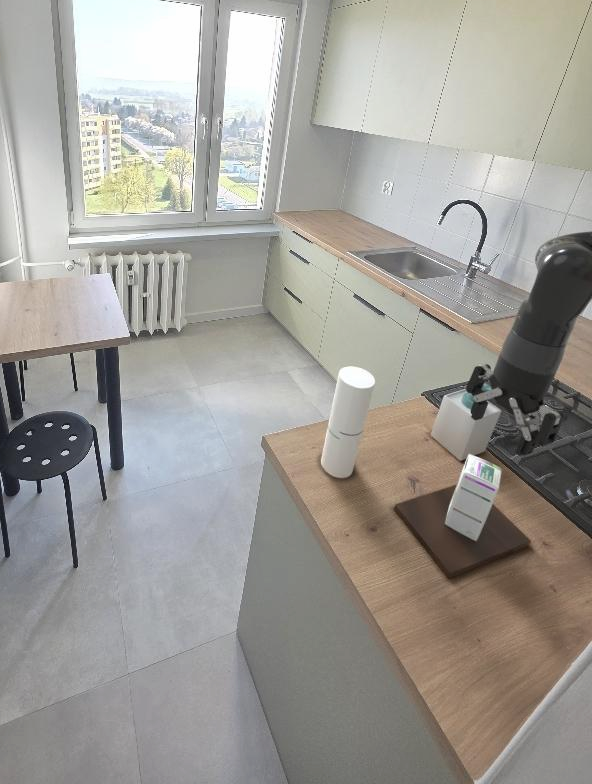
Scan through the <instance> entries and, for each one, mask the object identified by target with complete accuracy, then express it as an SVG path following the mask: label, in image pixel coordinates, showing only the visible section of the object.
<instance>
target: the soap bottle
mask: <svg viewBox="0 0 592 784" xmlns="http://www.w3.org/2000/svg"><path fill="white" fill-rule="evenodd" d="M490 390H492V389H491V385H488V384H487V383H486V382H485V383H484V385H483V387H482V391H483V392H487V391H490ZM487 402H488V406H487V408H486V411H485V414H484V416H483V418H482V419H479V420H474V419H472V418H471V415H472V414H471V408H472V405H473V403H474V399H473V395H472V394H471V393H468V392H467V391H466V388H464V389H460V390H457V391H454V392H450V393H448V394H445V395H443V398H442V399H441V403H440V406H439V410H438V412H437V416H436V417H435V418H436V419H435V421H434V424H433V427H432V430H431V433H430V436H431V437H432V438H433V439H434V440H435V441H436V442H438V443H439V445H441V446H442V447H443V448H444V449H445V450H447V451H448V452H449V453H450V454H451V455H453V457H455V458H456V459H457V460H458V461H459V462H461V461H464V460H467V457H468V455H469V454H471V455H473V456H476V455H478V454H481V453H484V452H486V450H487V447H488V445H489V442H490V440H491V438H492V435H493V433H494V430H495V428H496V425H497V423H498V420H499V418H500V416H501V413H502V410H501V409H500V408H499V407H497V406H496V405H495V404H493V403H492V402H490V401H489V400H487Z"/></svg>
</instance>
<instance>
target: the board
mask: <svg viewBox="0 0 592 784" xmlns="http://www.w3.org/2000/svg"><path fill="white" fill-rule="evenodd" d="M456 486H457V484H455V485H451V486H447V487H445V488H442V489H439V490H436V491H433V492H430V493H426V494H423V495H420V496H417V497H414V498H411V499H407V500H404V501H401V502H397V503H395V505H394V507H393V510H394V511H395V512H396V514H397V515H398V517H399V518H400V519H401V520H402V522H403V523H404V524H405V525H406V526H407V528H408V529H409V531H410V532H411V533H412V534H413V536H414V537H415V538H416V540H417V541H418V542H419V543H420V544H421V546H422V547H423V548H424V550H425V551H426V552H427V554H429V556H430V557H431V559H432V560H433V561H434V562H435V564H436V565H437V566H438V567H439V568H440V570H441V571H442V572H443V573H444V575H445V577H446V578H447V579H451V578H453V577H455V576H456V577H457V576H458V575H461V574H463V573H465V572H469V571H470V570H473V569H475V568H478V567H481V566H483V565H485V564H488V563H490V562H493V561H495V560H498V559H501V558H502V557H505V556H508V555H510V554H513V553H515V552H517V551H520V550H522V549H525V548H527V547H530V544H531V542H532V540H531V539H530V538H529V537H528V536H527V535H526V534H524V532H523V531H522V530H521V529H519V527H517V526H516V524H515V523H513V521H511V520H510V519H509V518H508V517H507V516H506V515H505V514H504V513H503V512H502V510H500V509H499V508H498V507H497V506H496V505H495V504H494V503H493V504H492V507H491V509H490V512H489V514H488V517H487V519H486V521H485V524H484V526H483V528H482V531H481V533H480V535H479V537H478V539H477V541H474V540H472V539H470V538H469V537H467V536H465V535H463V534H461V533H459V532H458V531H456V530H454V529H452V528H450V527H449V526H447V525H446V524H445V521H446V517H447V513H448V509H449V505H450V502H451V500H452V497H453V494H454V491H455V489H456Z"/></svg>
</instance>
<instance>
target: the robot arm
mask: <svg viewBox="0 0 592 784" xmlns="http://www.w3.org/2000/svg"><path fill="white" fill-rule="evenodd" d="M534 263H535V266H536V269H537V273H536V277H535V280H534V283H533V285H532V287H531V291H530V292H529V295H528V296H526V298H524V299H523V301H522V302H521V304H520V305H519V307H518V310H517V313H516V314H515V317H514V320H513V323H512V326H511V328H510V329H509V332H508V333H507V334H506V336H505V339H504V342H502V343H503V344H502V347H501V350H500V352H499V354H498V357H497V361H496V363H495V366H494V369H493V370H492V367H491V365H490V364H488V363H485V364H481V365H477V366H474V368H473V371H472V373H471V375H470V378H469V380H468V382H467V385H466V387H465V389H466V391H467V392H468V393H471V394H472V395H473V399H474V403H473V405H472V408H471V414H472V415H471V418H472V419H474V420H479V419H482V418H483V416H484V414H485V411H486V408H487V406H488V402H489V400H492V399H494V401H495V403H496V404H497V405H498V406H499V407H502V408H503V409H505V410H506V411H507V412H508V413H509V414H510V415H512V416H514V418H515V421H516V424H517V426H519V427H520V429H521V433H522V436H521V437H520V440H519V442H518V445H517V446H516V449H515V451H514V453H515V454H516V455H517V456H519V457H522V456H523V457H525V456H528V455H530V454H532V453H533V452H534V450H535V448H536V445H537V446H539V447H544V446H548V445H552V444H554V443H555V442H556V439H557V437H558V434H559V431H560V428H561V426H562V423H563V420H564V418H565V414H564V412H562V411H561V410H552V409H551V408H550V407H548V406H546V405H545V402H544V399H545V397H546V395H547V394H548V392H549V390H550V387H551V386H552V383H553V381H554V379H555V376H556V374H557V372H558V370H559V368H560V366H561V363H562V361H563V358H564V355H565V351H566V347H567V344H568V342H569V340H570V338H571V336H572V333H573V331H574V329H575V326H576V323H577V320H578V318H579V317H580V315H581V314H583V312H584V311H585V309H586V308H587V306H589V304H590V303H591V301H592V231H582V232H573V233H567V234H563V235H559V236H556V237H553V238H551V239H549V240H547V241H545V242H544V243H542V244H541V245H540V246H539V248H538V249H537V251H536V252H535V256H534ZM486 380H488V381H489V384H490V385H489V386H490V387H491V389H492V390H490V391H487V392H486V391H483V390H482V387H483V385H484V383H486V382H487V381H486ZM487 401H488V402H487ZM538 412H539V414H540V418H539V415H538ZM525 415H528V416H527V417H526V416H525ZM540 421H541V425H540V424H539V423H540Z"/></svg>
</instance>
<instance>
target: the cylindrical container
mask: <svg viewBox="0 0 592 784" xmlns="http://www.w3.org/2000/svg"><path fill="white" fill-rule="evenodd" d="M337 375H338V376H337V380H336V385H335V390H334V395H333V399H332V404H331V408H330V409H331V410H330V414H329V420H328V425H327V429H326V434H325V439H324V444H323V448H322V453H321V458H320V464H321V467H322V469H323V470H324V471H325V472H326V473H327V474H328V475H330V476H331V477H335V478H338V479H345V478H349V477H350V476H351V475H352V474H353V471H354V468H355V463H356V459H357V456H358V451H359V448H360V444H361V439H362V435H363V432H364V428H365V424H366V419H367V416H368V411H369V408H370V404H371V400H372V395H373V392H374V388H375V384H376V379H375V377H374V375H373V374H372V373H370V372H369V371H368V370H366V369H364V368H361V367H358V366H352V365H351V366H350V365H349V366H344V367H342V368H340V369H339V371H338V374H337Z"/></svg>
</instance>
